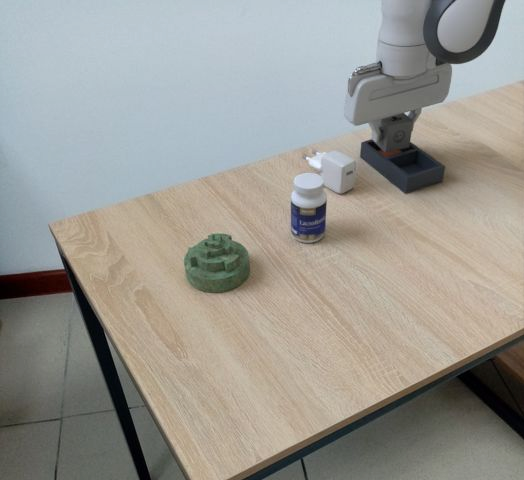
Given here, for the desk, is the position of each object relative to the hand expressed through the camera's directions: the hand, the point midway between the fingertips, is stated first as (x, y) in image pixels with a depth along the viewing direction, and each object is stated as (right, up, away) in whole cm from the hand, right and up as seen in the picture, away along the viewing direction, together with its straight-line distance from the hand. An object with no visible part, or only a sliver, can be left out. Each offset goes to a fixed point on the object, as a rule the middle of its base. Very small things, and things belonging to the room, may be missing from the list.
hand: (392, 135), depth 100 cm
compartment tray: (+2, -6, +1) cm, 6 cm away
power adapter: (-12, -9, 0) cm, 15 cm away
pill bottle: (-17, -21, -11) cm, 29 cm away
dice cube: (0, -1, +1) cm, 2 cm away
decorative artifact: (-31, -28, -16) cm, 45 cm away
